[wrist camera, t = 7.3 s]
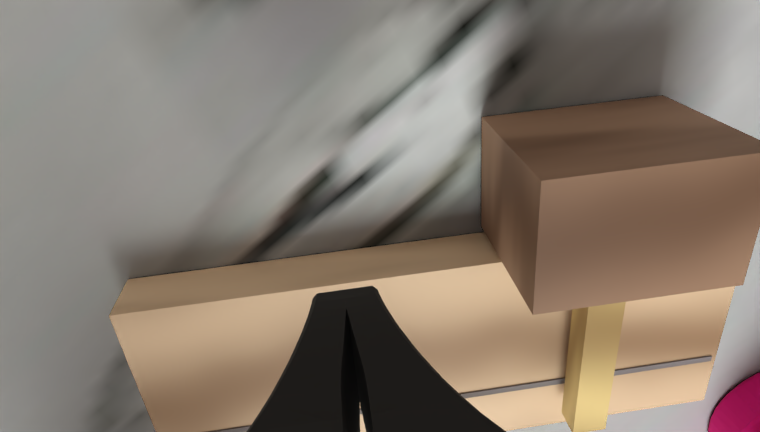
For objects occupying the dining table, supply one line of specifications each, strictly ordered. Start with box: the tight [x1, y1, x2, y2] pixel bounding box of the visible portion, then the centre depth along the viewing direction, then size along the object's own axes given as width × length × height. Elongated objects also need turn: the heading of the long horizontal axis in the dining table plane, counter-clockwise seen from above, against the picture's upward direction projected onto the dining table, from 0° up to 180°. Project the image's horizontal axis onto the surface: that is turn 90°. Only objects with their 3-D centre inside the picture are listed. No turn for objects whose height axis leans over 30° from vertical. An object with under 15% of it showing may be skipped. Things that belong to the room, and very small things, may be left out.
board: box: [109, 232, 735, 432], centre depth 20 cm, size 8×21×2 cm, turn 95°
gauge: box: [481, 95, 760, 432], centre depth 18 cm, size 11×6×5 cm, turn 5°
